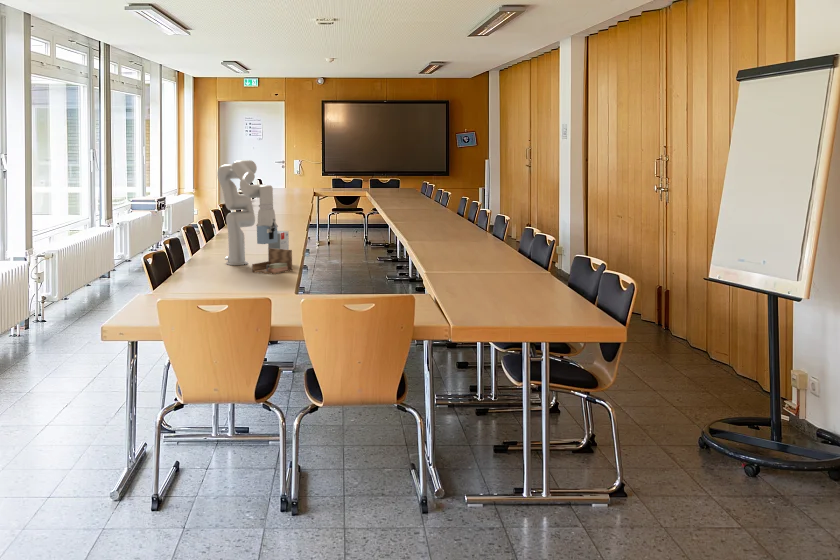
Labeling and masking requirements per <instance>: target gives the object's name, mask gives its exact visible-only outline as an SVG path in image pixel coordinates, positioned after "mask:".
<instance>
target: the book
mask: <svg viewBox="0 0 840 560" xmlns="http://www.w3.org/2000/svg"><path fill="white" fill-rule="evenodd" d="M271 227H272V226H271ZM271 229H272V228H271ZM277 231H278V227H277V228H276V230H275V231H274V239H269V232H270V230H269V227H267V226H256V242H257V243H256V244H257V245H267V244H269V243H275V242H278V236H277Z"/></svg>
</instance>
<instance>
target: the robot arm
mask: <svg viewBox="0 0 840 560" xmlns="http://www.w3.org/2000/svg"><path fill="white" fill-rule="evenodd" d="M257 167H258V166H257V163H256V162H255V161H253V160H251V159H249V160H248V159H246V160H245V159H243V160H242V159H241V160H236V161H235V160H234V162H233V163H232V164H223V165H220V166H219V167H218V169H217V179H218V182H219V184H220V186H221V187H220V188H221V189H222V193H223V200H224V205H225V207H226V209H227V210H228V211H232V212H229V213H227V215H226V216H225V223H226V225H227V235H228V236H227V237H228V256H226V257H224V260H225V261H227V262H226V265H228V266H244V264H245V265H247V264H249V263H248V262H249V261H247V260H246V251H245V249H246V248H245V245H246V244H245V242H246V241H245V233H244V231H243V230H242V228H248V227H252V226H254V225H255V224H256V227H257V226H267V227H269V230H270V232H269V239H274V231H275V230H276V228H277V229H278V227H279V226H278V224H277V220H276V214H275V209H274V195H273V194H274V192H273V186H272V185H270V184H258V183H257V184H252V183H253V182H254V181H255V177H256V175H255V174H256V173H257ZM231 179H232V180H236V179H239V180H240V181H239V190H240V191H241V192H242V193H239V192H238V187H237V185H236V184H235V183H234V181H232V180H231ZM258 198H259V205H258V207H259V209H258V212H257V222H256V216H255V211H254V207H253V206H254V205H253V202H252V199H258ZM240 210H241V211H240ZM255 222H256V223H255ZM271 226H272V227H271ZM271 228H272V229H271Z"/></svg>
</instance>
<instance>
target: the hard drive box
mask: <svg viewBox="0 0 840 560" xmlns="http://www.w3.org/2000/svg"><path fill="white" fill-rule="evenodd" d="M277 236H278V242H275V243H269V244H268V245H267V246H268V249H267V252H268V253H267V254H268V257H267V259H268V260H267V261H269V248H274V249H287V250H290V248H289V246H290V245H289V241H290V240H289V231H287V230H286V231H285V230H277Z"/></svg>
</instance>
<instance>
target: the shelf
mask: <svg viewBox="0 0 840 560" xmlns="http://www.w3.org/2000/svg"><path fill="white" fill-rule="evenodd" d="M251 267H252V268H251V270H252V273H257V272H262V273H261V274H267V273H272V274H271V275H277V274H276V273H278V274H282V273H281V272H283V273H286V272H285V271H288V272H291V271H290V270H292V271H293V251H292V249H289V250H287V249H274V248H269V261H268V260H267V261H262V262H256V263H252V265H251Z"/></svg>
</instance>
